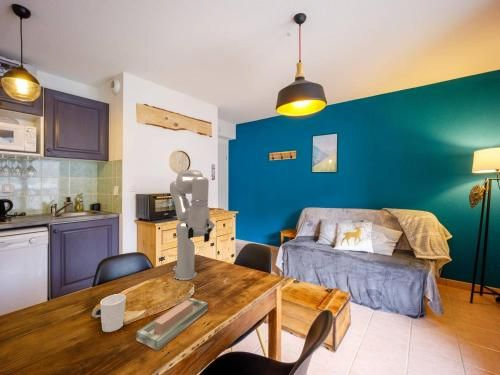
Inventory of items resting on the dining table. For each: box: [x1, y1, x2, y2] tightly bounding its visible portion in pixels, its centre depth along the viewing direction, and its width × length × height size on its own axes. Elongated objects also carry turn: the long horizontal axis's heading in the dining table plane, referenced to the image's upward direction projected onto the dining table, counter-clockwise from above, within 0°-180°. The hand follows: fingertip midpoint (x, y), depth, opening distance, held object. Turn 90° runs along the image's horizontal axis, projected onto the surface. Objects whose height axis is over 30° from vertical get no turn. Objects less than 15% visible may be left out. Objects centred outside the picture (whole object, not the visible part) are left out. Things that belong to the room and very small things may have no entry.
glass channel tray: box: [135, 297, 209, 352], centre depth 84 cm, size 10×26×3 cm, turn 154°
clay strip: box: [153, 299, 193, 335], centre depth 83 cm, size 4×16×4 cm, turn 154°
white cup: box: [99, 293, 127, 333], centre depth 81 cm, size 8×8×10 cm
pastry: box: [90, 302, 101, 318], centre depth 91 cm, size 9×7×4 cm
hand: (198, 239), depth 105 cm, fingers open, 9 cm apart
